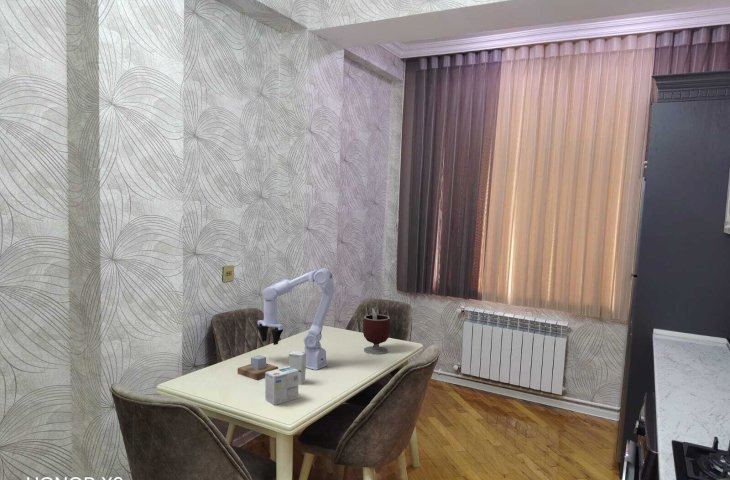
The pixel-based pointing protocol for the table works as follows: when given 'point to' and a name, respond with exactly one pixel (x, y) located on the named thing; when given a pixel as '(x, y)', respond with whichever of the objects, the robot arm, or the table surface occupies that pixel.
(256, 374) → the walnut base
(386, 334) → the mate gourd
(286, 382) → the light bulb box
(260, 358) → the slate cube
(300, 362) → the skincare box
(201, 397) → the table surface
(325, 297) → the robot arm
